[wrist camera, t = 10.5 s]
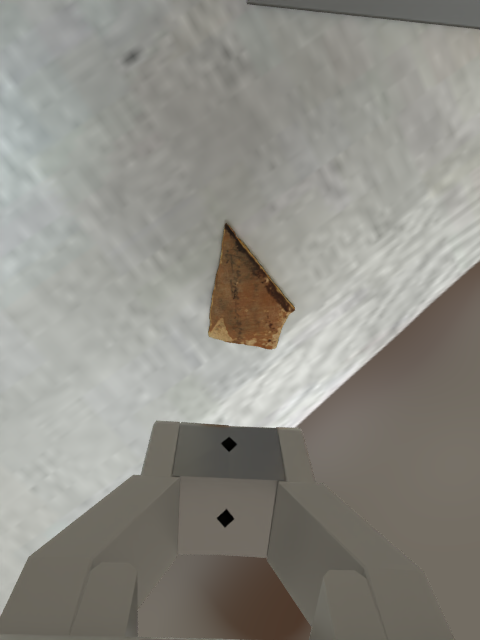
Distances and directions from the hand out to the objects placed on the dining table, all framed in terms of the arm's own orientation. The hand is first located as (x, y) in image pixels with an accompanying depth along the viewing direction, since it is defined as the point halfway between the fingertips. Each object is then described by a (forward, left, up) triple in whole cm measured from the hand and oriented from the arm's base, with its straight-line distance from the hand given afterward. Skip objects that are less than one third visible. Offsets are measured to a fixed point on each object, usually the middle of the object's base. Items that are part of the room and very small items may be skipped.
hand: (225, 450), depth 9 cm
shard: (+6, -5, -32) cm, 33 cm away
